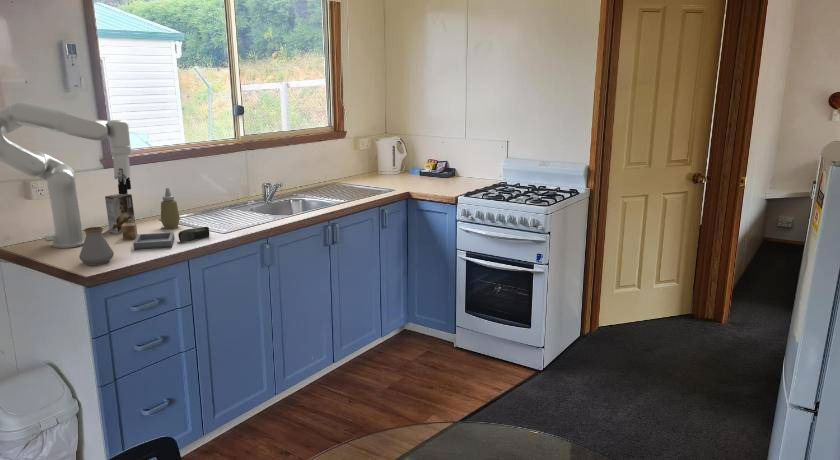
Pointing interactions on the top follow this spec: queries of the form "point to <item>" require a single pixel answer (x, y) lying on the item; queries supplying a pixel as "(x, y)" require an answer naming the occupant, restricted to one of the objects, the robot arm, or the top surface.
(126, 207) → the coffee box
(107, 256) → the coffee pot
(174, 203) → the squeeze bottle
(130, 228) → the walnut block
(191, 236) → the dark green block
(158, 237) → the tray
